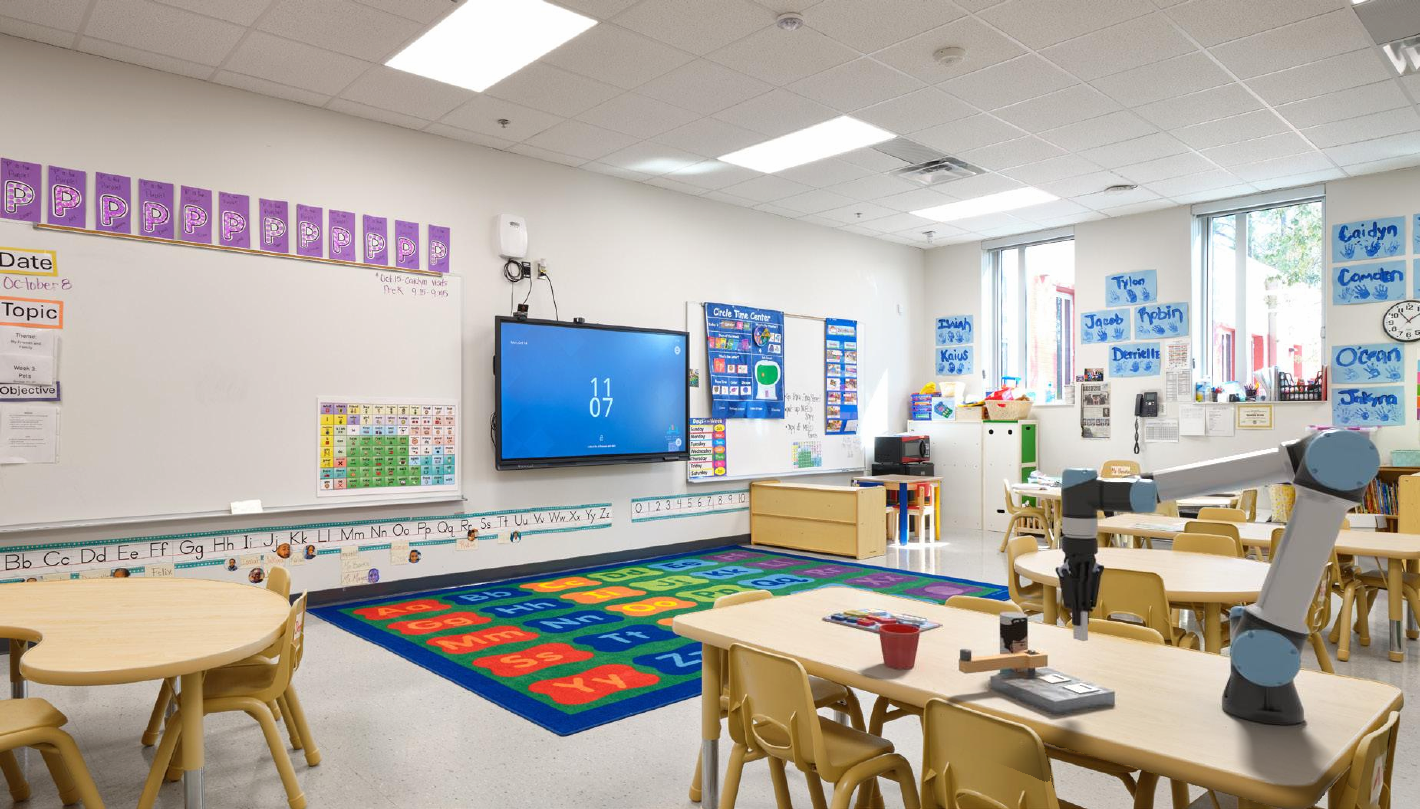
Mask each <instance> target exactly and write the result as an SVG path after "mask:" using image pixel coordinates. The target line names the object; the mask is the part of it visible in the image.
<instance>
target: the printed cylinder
mask: <svg viewBox="0 0 1420 809" xmlns="http://www.w3.org/2000/svg"><path fill="white" fill-rule="evenodd" d="M1028 618H1029V617H1028V614H1026V613H1023V612H1018V611H1002V612H1000V613H999V655H1000V654H1010V653H1016V651H1022V650H1029V642H1028V641H1029V636H1028V635H1029V631H1028V630H1029V628H1028V626H1029V625H1028V624H1029V623H1028V621H1029V620H1028ZM1021 671H1028V667H1021V668H1012V669H1003V670H999V675H1001V674H1008V673H1014V672H1021Z"/></svg>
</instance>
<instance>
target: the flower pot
mask: <svg viewBox="0 0 1420 809" xmlns="http://www.w3.org/2000/svg"><path fill="white" fill-rule="evenodd" d="M878 634H879V641H880V647H881V653H882V659H883V663H884V666H886V667H888V668H891V669H892V668H893V669H897V670H907V669H908V670H909V669H911V668H913V667H915V663H916V657H917V652H918V646H919V641H920V640H919V639H920V634H921V632H920V629H919V628H917V627H915V626H912V625H906V624H884V625H881V626H879V633H878Z"/></svg>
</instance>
